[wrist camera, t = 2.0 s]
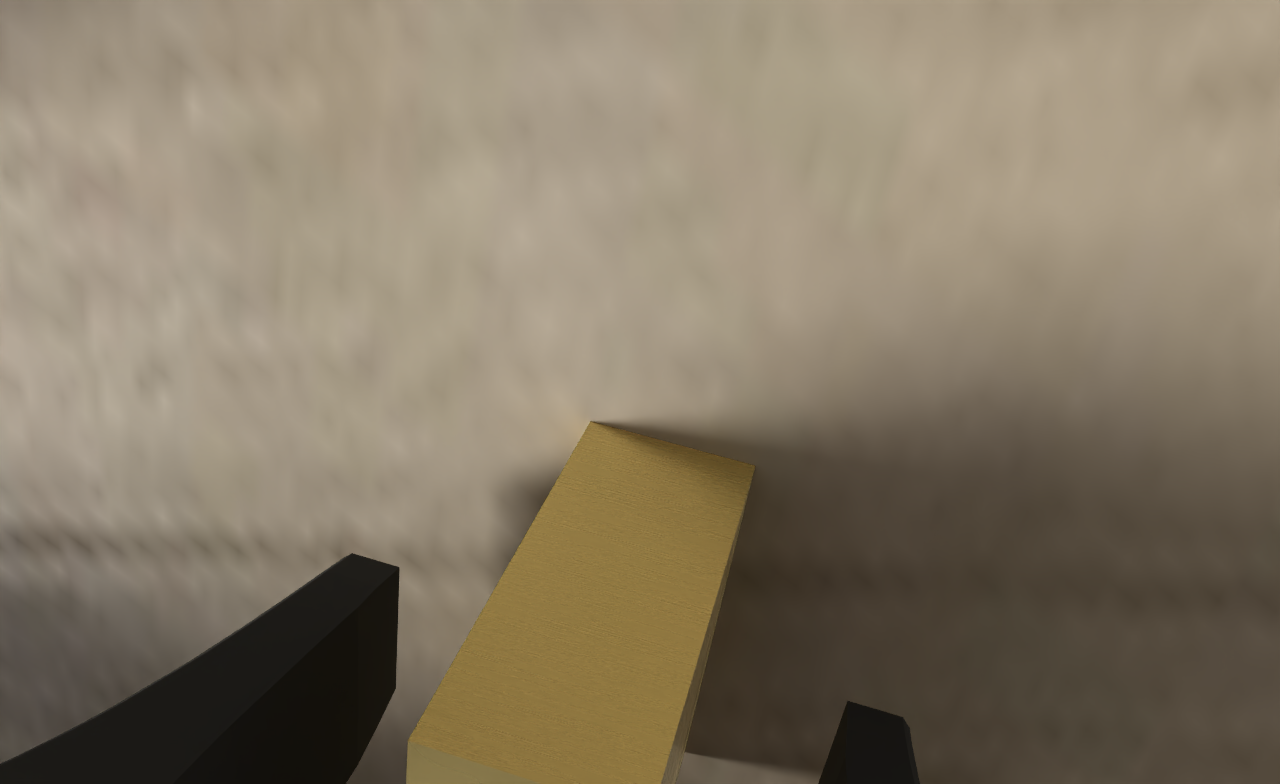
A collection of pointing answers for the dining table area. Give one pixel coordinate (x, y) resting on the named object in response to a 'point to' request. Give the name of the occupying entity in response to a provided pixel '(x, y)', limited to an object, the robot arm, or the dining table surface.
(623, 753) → the yellow rectangular block
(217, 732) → the robot arm
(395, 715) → the dining table surface
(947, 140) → the dining table surface
